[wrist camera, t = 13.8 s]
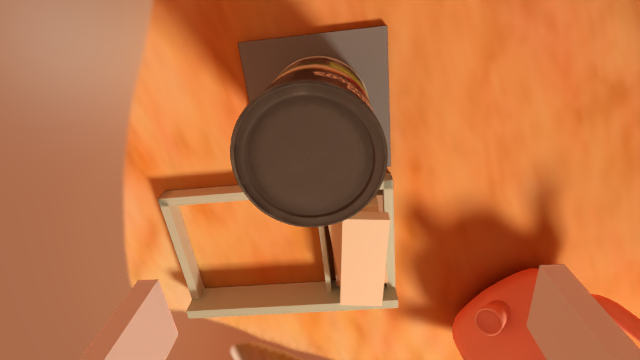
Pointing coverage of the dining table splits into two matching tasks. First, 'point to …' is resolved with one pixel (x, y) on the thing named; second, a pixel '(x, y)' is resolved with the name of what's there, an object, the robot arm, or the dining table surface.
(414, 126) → the dining table surface
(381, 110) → the mat
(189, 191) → the rack
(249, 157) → the coffee can
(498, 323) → the teapot
